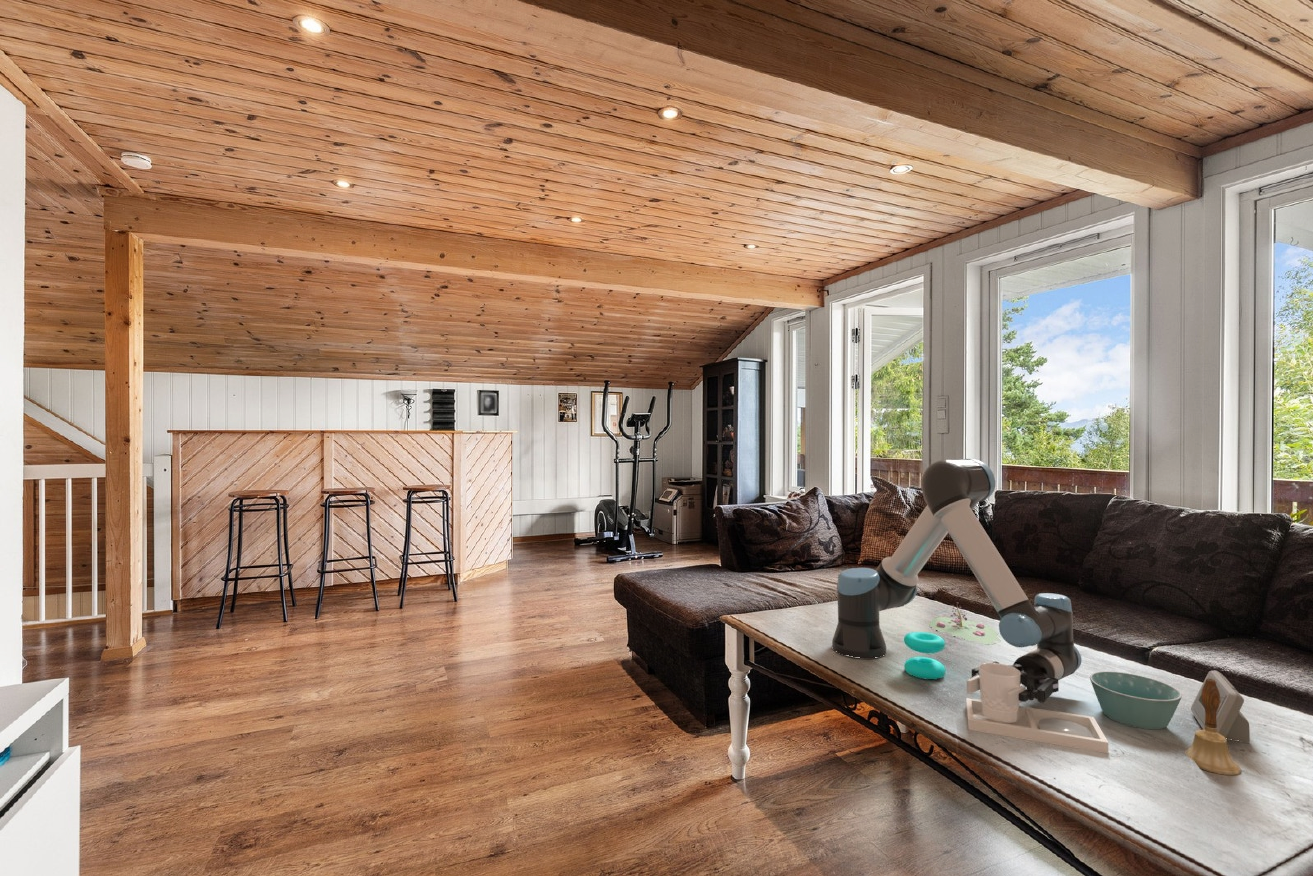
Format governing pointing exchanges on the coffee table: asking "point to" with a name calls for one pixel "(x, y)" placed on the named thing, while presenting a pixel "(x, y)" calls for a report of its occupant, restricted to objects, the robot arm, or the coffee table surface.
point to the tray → (1029, 727)
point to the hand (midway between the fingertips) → (988, 693)
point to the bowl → (1135, 699)
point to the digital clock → (1224, 710)
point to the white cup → (998, 691)
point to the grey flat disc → (1063, 727)
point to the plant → (966, 628)
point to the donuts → (924, 665)
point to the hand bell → (1212, 738)
